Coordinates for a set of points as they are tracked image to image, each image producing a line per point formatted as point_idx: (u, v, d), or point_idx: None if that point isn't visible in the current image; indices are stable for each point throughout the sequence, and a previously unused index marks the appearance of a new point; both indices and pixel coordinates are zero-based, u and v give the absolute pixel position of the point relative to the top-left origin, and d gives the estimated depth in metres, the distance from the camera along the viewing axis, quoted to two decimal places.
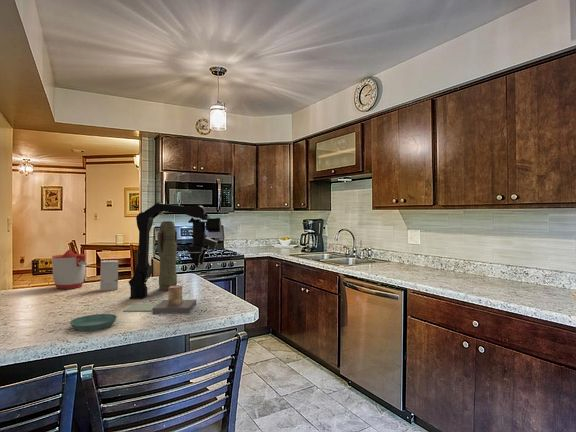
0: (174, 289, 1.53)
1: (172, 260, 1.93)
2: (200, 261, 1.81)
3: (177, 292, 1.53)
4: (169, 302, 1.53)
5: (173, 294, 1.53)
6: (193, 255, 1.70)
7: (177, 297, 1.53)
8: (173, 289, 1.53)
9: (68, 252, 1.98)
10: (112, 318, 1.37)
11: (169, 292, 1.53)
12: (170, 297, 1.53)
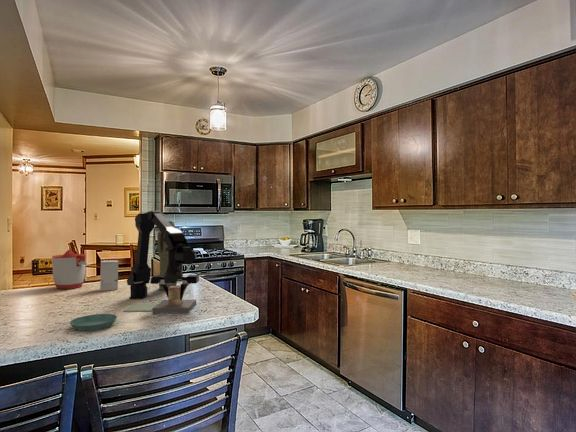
0: (174, 289, 1.53)
1: None
2: None
3: (177, 292, 1.53)
4: (169, 302, 1.53)
5: (173, 294, 1.53)
6: None
7: (177, 297, 1.53)
8: (173, 289, 1.53)
9: (68, 252, 1.98)
10: (112, 318, 1.37)
11: (169, 292, 1.53)
12: (170, 297, 1.53)
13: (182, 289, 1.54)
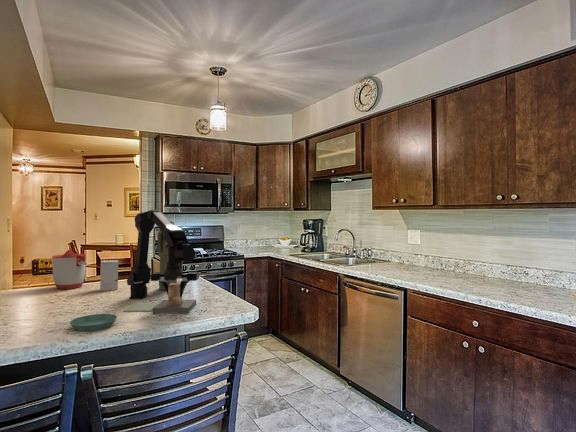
0: (174, 286, 1.53)
1: None
2: None
3: (177, 289, 1.53)
4: (169, 299, 1.53)
5: (173, 291, 1.53)
6: None
7: (177, 294, 1.53)
8: (173, 286, 1.53)
9: (68, 252, 1.98)
10: (112, 318, 1.37)
11: (169, 289, 1.53)
12: (170, 294, 1.53)
13: (182, 286, 1.54)
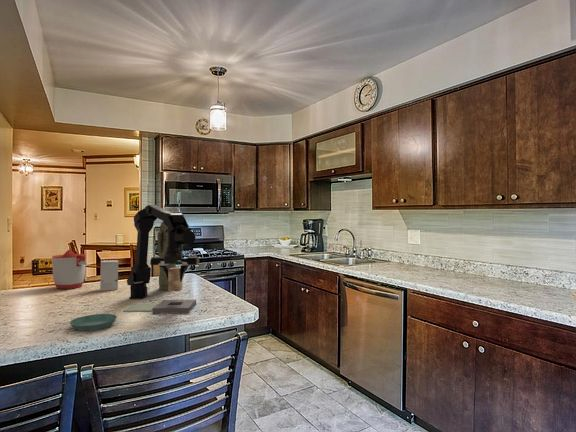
0: (174, 270, 1.53)
1: None
2: None
3: (177, 273, 1.53)
4: (169, 283, 1.53)
5: (173, 275, 1.53)
6: None
7: (177, 278, 1.53)
8: (173, 270, 1.53)
9: (68, 252, 1.98)
10: (112, 318, 1.37)
11: (169, 273, 1.53)
12: (170, 278, 1.53)
13: (182, 270, 1.54)
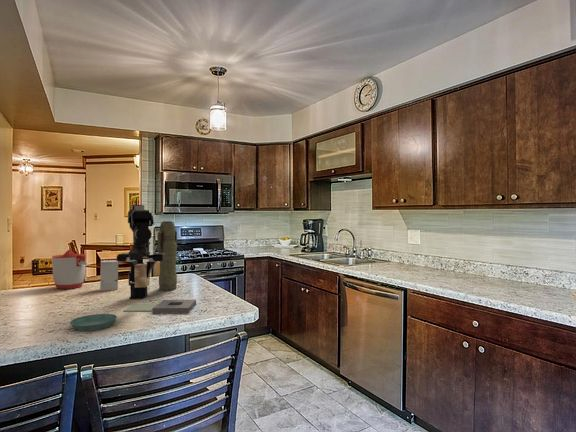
0: (140, 266, 1.54)
1: (172, 260, 1.93)
2: None
3: (143, 269, 1.54)
4: (135, 279, 1.54)
5: (139, 271, 1.54)
6: None
7: (143, 274, 1.54)
8: (139, 266, 1.54)
9: (68, 252, 1.98)
10: (112, 318, 1.37)
11: (135, 269, 1.54)
12: (136, 274, 1.54)
13: (148, 267, 1.55)
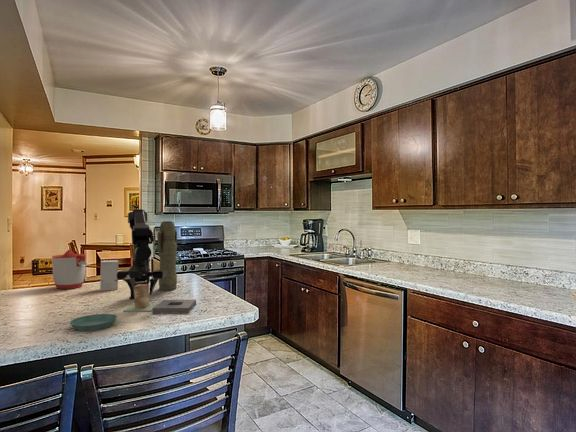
0: (140, 287, 1.54)
1: (172, 260, 1.93)
2: None
3: (143, 290, 1.54)
4: (135, 300, 1.54)
5: (139, 292, 1.54)
6: None
7: (143, 295, 1.54)
8: (139, 287, 1.54)
9: (68, 252, 1.98)
10: (112, 318, 1.37)
11: (135, 290, 1.54)
12: (136, 295, 1.54)
13: (151, 284, 1.55)
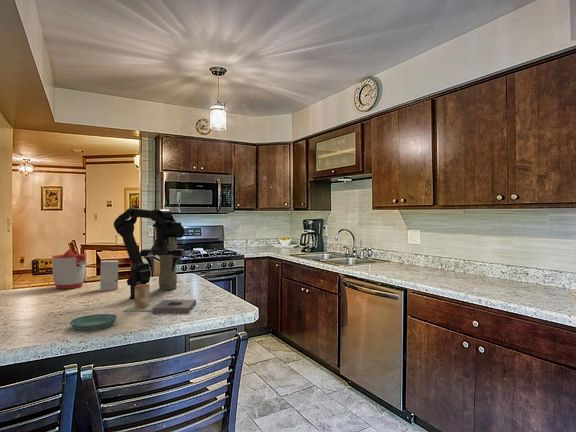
0: (140, 287, 1.54)
1: (172, 260, 1.93)
2: None
3: (143, 290, 1.54)
4: (135, 300, 1.54)
5: (139, 292, 1.54)
6: None
7: (143, 295, 1.54)
8: (139, 287, 1.54)
9: (68, 252, 1.98)
10: (112, 318, 1.37)
11: (135, 290, 1.54)
12: (136, 295, 1.54)
13: (174, 262, 1.67)
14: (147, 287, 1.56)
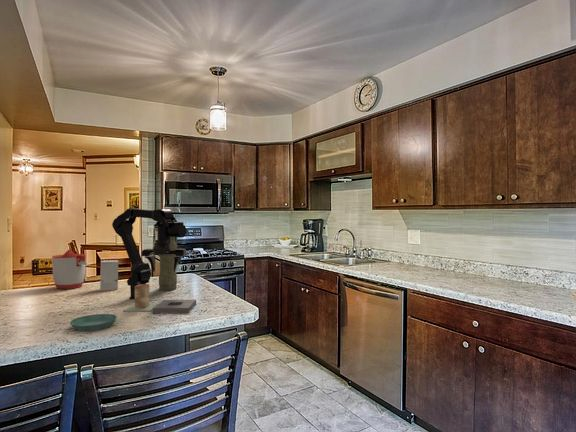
0: (140, 287, 1.54)
1: (172, 260, 1.93)
2: None
3: (143, 290, 1.54)
4: (135, 300, 1.54)
5: (139, 292, 1.54)
6: None
7: (143, 295, 1.54)
8: (139, 287, 1.54)
9: (68, 252, 1.98)
10: (112, 318, 1.37)
11: (135, 290, 1.54)
12: (136, 295, 1.54)
13: (175, 261, 1.69)
14: (147, 287, 1.56)
